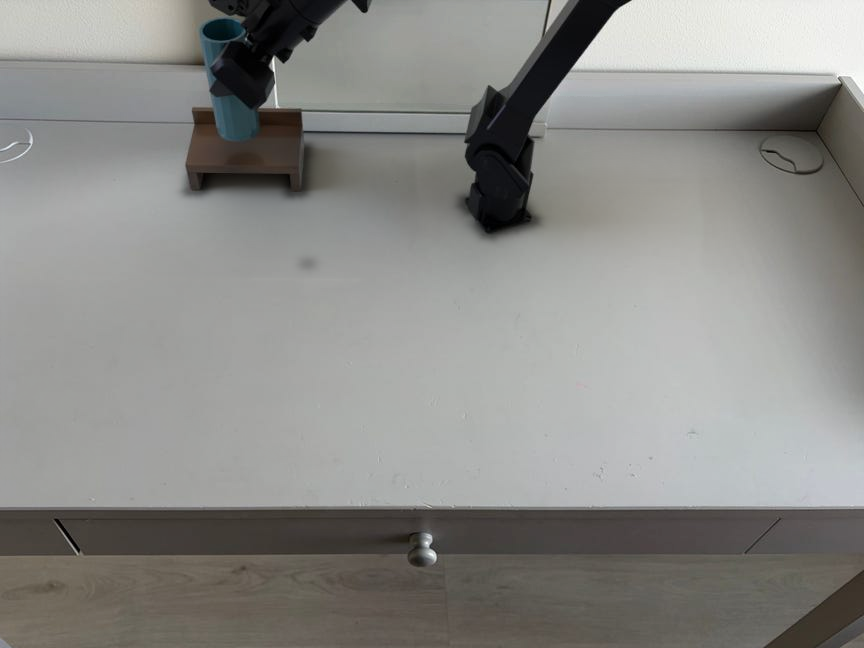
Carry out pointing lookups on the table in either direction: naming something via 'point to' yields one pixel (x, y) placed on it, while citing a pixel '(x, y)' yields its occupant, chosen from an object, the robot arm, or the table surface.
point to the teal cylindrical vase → (228, 110)
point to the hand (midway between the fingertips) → (220, 79)
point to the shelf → (248, 147)
